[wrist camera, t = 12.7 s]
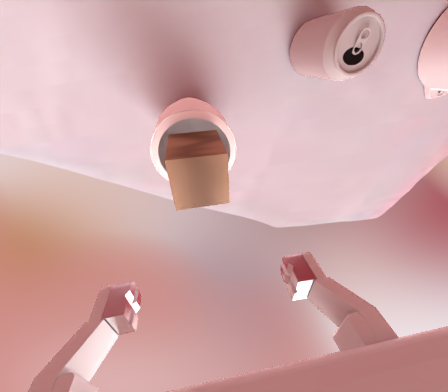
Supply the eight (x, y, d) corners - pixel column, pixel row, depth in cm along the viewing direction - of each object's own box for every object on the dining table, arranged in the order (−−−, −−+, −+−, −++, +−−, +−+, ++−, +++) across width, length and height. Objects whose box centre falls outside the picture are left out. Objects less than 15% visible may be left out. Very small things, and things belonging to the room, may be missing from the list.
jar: (163, 148, 38) (155, 190, 26) (157, 88, 32) (143, 106, 20) (217, 149, 40) (232, 188, 28) (221, 92, 34) (242, 111, 22)
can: (281, 72, 34) (321, 79, 25) (295, 15, 30) (349, -5, 20) (319, 77, 36) (370, 85, 26) (337, 23, 32) (406, 9, 22)
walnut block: (216, 129, 23) (227, 153, 17) (219, 171, 26) (229, 202, 21) (168, 134, 22) (164, 160, 17) (177, 176, 26) (176, 210, 20)
